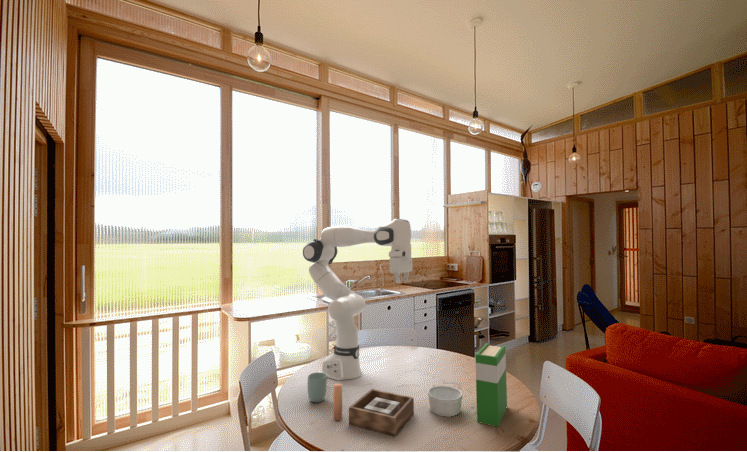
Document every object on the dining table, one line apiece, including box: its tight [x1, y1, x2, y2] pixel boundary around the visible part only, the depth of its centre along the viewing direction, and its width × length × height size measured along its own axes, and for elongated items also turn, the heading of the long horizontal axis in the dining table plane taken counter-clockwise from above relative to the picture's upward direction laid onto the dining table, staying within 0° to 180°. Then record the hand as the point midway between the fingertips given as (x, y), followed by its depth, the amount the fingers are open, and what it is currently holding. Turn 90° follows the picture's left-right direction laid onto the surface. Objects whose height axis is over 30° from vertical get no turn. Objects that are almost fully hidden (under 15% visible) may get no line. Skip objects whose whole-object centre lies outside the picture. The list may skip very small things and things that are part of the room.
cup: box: [307, 372, 328, 403], centre depth 141 cm, size 8×8×10 cm
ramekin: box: [427, 385, 463, 418], centre depth 132 cm, size 13×13×7 cm
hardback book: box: [475, 342, 508, 428], centre depth 130 cm, size 18×7×24 cm, turn 149°
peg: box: [332, 383, 343, 422], centre depth 126 cm, size 3×3×12 cm
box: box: [348, 388, 415, 438], centre depth 126 cm, size 18×18×6 cm
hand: (402, 282), depth 159 cm, fingers open, 8 cm apart
